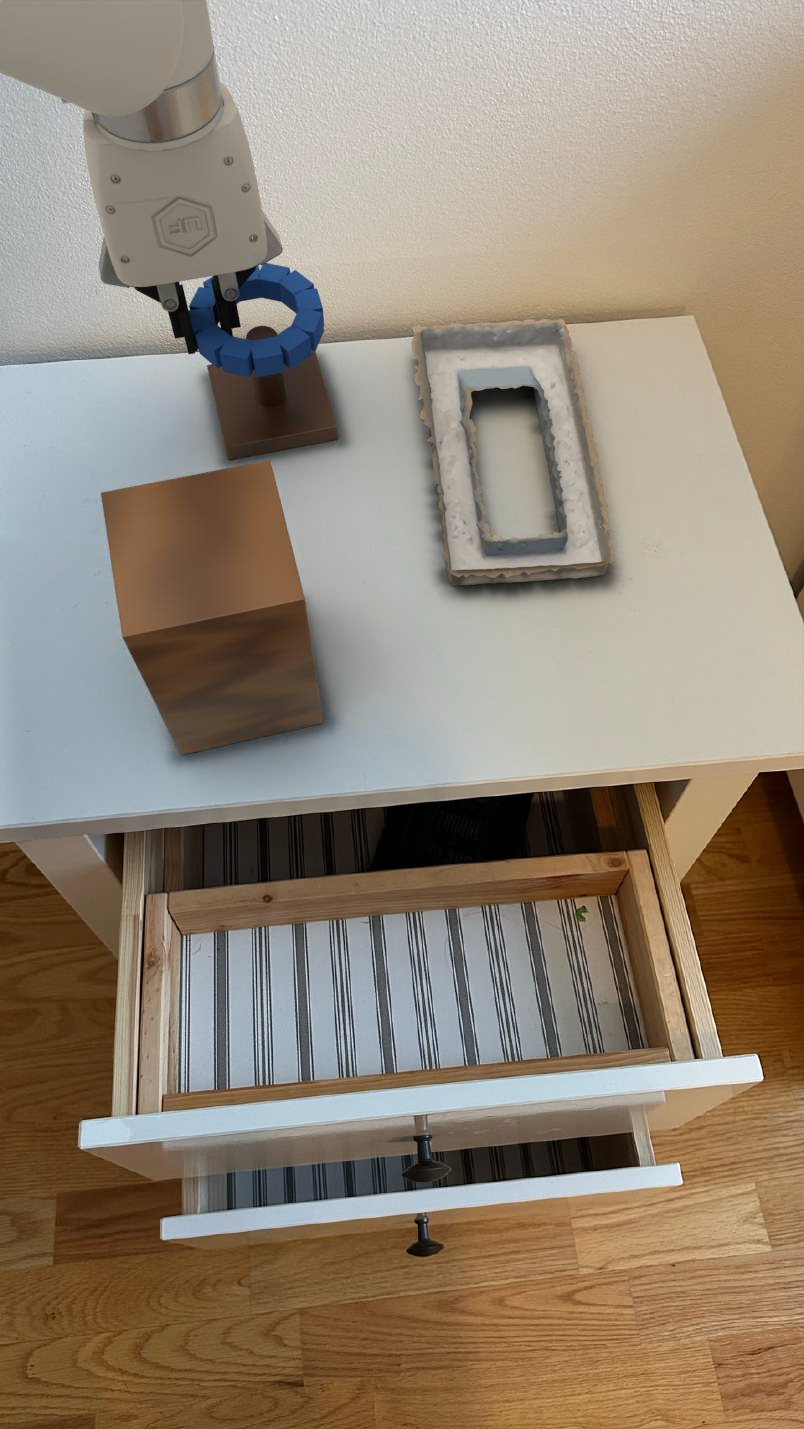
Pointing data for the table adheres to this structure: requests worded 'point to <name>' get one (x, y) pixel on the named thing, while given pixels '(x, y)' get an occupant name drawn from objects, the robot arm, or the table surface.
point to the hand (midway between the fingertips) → (208, 335)
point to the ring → (269, 351)
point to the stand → (214, 605)
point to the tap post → (272, 406)
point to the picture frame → (547, 364)
